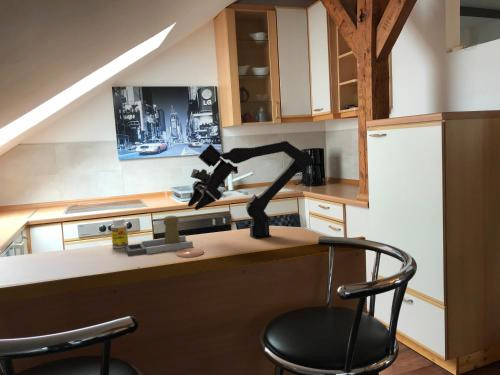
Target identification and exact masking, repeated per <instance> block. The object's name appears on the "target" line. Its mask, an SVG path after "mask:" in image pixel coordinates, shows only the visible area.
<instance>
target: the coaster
mask: <svg viewBox="0 0 500 375" xmlns="http://www.w3.org/2000/svg"><path fill="white" fill-rule="evenodd" d="M204 253H205V252H204V249H202V248H198V247H197V248H196V247H191V248H184V249H178V250H177V251H176V256H177V257H180V258H193V257H194V258H195V257H198V256H202V255H203V254H204Z"/></svg>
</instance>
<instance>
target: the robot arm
mask: <svg viewBox="0 0 500 375" xmlns="http://www.w3.org/2000/svg"><path fill="white" fill-rule="evenodd" d="M282 152H283V153H284V154H286V155H287V156H288V157H289V158H291V160H290V161H289V162H288V164H287V167H286V168H285V169H284V170H283V171H282V172H281V173H280V174H279V175H278V176H277V177H276V178H275V179H274V181H273V182H272V183H271V184H270V185H269V186H267V188H266V189H265V190H264V191H263V192H262V193H261V194H259V195H257V194H256V193H254V194H253V196H251V198H250V199H249V200H247V204H246V206H245V209H246V212H247V214H248V216H249V217H250V218H252V220H251V219H250V224H249V236H251V237H252V238H254V239H257V240H258V239H262V238H264V239H265V238H270V237H272V234H270V218H269V216H268V214H267V212H266V211H265V210H266V209H267V208H268V207H267V206H268V205H269V203H270V201H272V199H273V198H275V196H276V195H277V194H278V193H279V192H280V191H281V190H282V189H283V188H284V186H286V185H287V183H289V182H290V181H291V180H292V179H293V178H294V176H295V175H298V174H299V173H300V172H302V171H303V170H305V169H306V168H308V167H309V166H310V165H311V164H312V162H313V157H312V155H311V154H310V153H309V152H307V151H302V150H300V149H299V148H297V147H296V146H294V145H293V144H291V143H290V141H287V140H282V141H279V142H273V143H268V144H264V145H258V146H254V147H253V146H252V147H232V148H231V149H229V151H227V152H222V153H221V152H220V151H219V150H218V149H216V148H215V146H213V145H212V144H211V143H210V144H209V145H208V146H207V147H206V148H205V149H204V150H203V151H202V152H201V153H200V154H199V155H198V159H199V160H200V161H202V162H203V163H204V164H205V165H207V166H208V167H209V168H210V167H212V168H213V167H214V169H213V170H211V171H209V172H208V171H207V169H204V168H201V169H200V170H199V169H195V168H194V169H193V168H192V169H193V170H192V172H191V175H190V177H191V178H193V179H196V180H195V181H194V182H193V183H192V191H193V192H192V194H191V197H190V199H189V201H188V203H187V206H188V207H189V208H191V207H192V206H193V205H194V206H195V207H194V210H195V211H199V210H201V209H202V208H204V207H206V206H208V205H210V204H212V203H215V202H217V201H219V200H221V198H222V196H223V195H222V191H221V190H219V188H220V187H221V185H222V186H224V185H225V181H226V179H228V177H229V176H231V174H232V173H233V174H234V175H236V174H238V173H239V170H238V168H239V167H238V164H241V163H243V162H245V161H248V160H251V159H253V158H259V157H262V156H267V155H272V154H273V155H274V154H278V153H282ZM225 160H227V161H225ZM233 164H235V166H234V165H233ZM236 164H237V165H236Z"/></svg>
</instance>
